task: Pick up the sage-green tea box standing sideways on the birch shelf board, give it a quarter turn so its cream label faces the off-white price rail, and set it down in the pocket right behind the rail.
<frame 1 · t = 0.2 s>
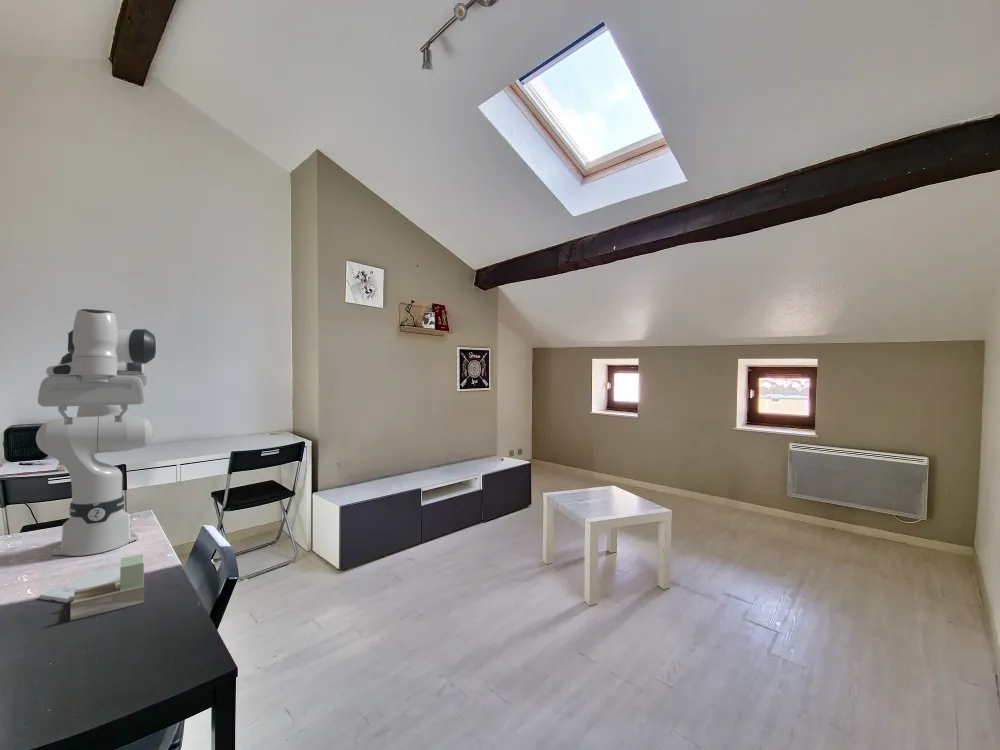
hand: (94, 423, 113), 39 cm above the table, tool pointing down, fingers open, 8 cm apart
tea box: (131, 586, 103), point 2 cm above the table, touching shelf
external hard drive: (83, 591, 106), on the table
shelf: (109, 600, 101), on the table
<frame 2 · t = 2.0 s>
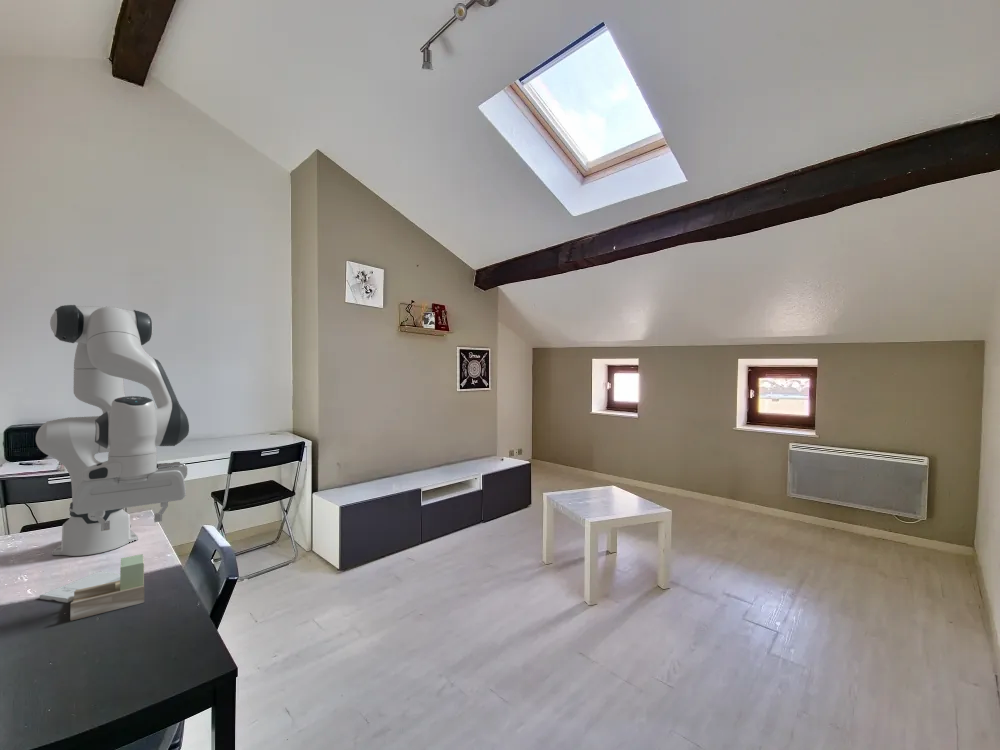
hand: (132, 525, 103), 16 cm above the table, tool pointing down, fingers open, 8 cm apart
nothing on the table moved.
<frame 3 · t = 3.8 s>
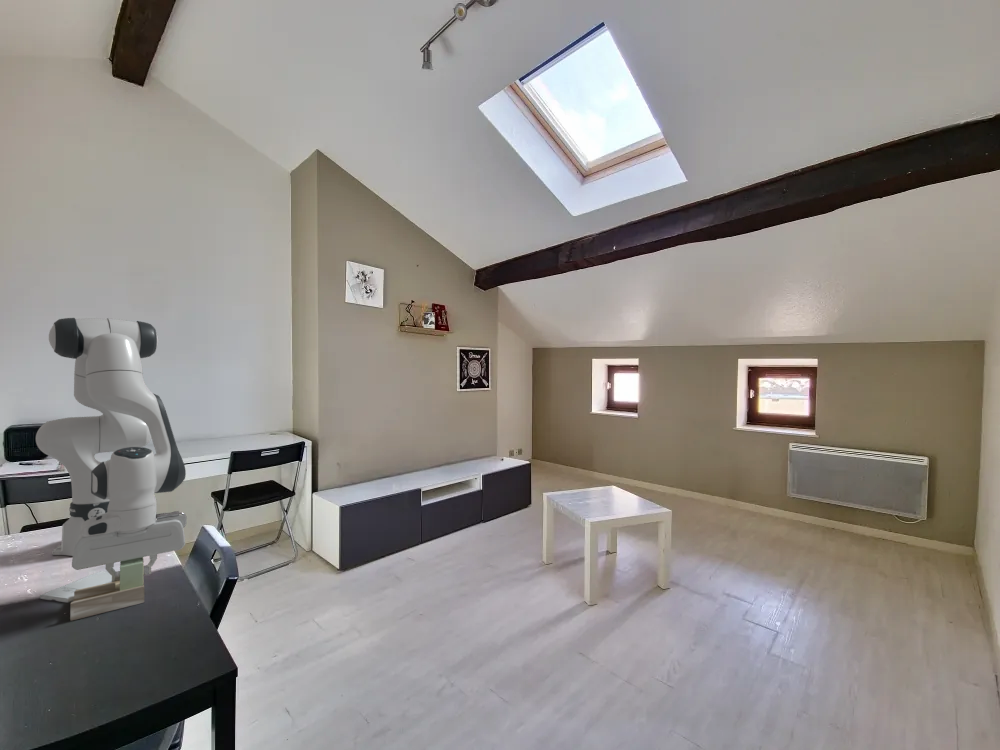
hand: (131, 577, 103), 4 cm above the table, tool pointing down, fingers closed on tea box, 4 cm apart
tea box: (131, 586, 103), point 2 cm above the table, touching gripper, shelf
everything else where it was.
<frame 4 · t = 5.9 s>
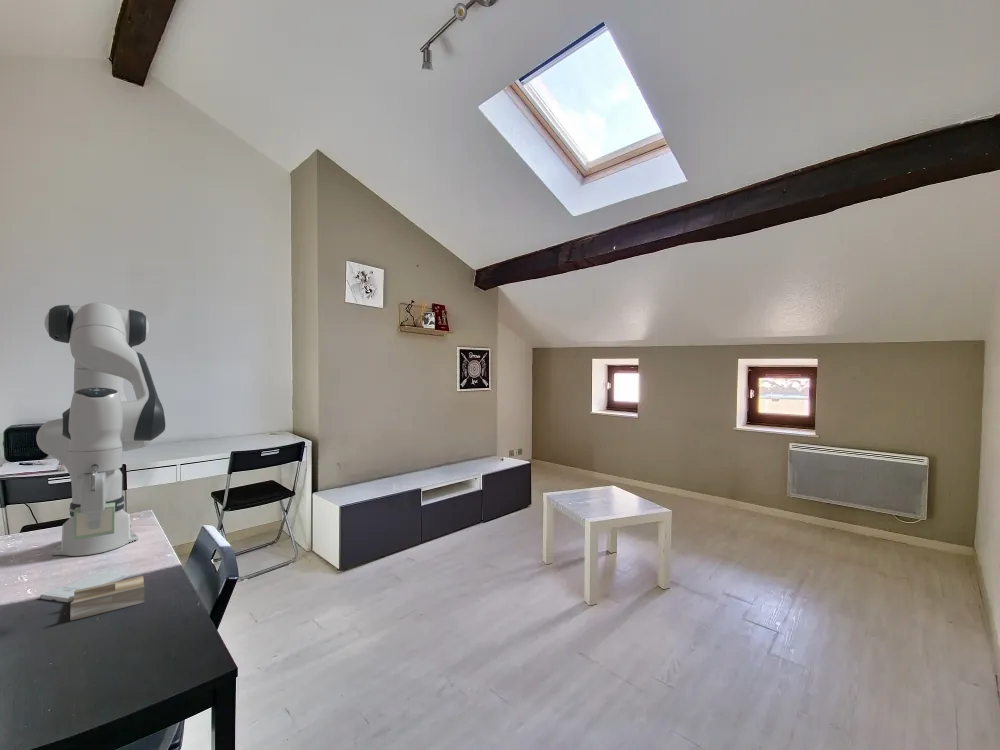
hand: (95, 524, 97), 18 cm above the table, tool pointing down, fingers closed on tea box, 4 cm apart
tea box: (94, 534, 97), point 16 cm above the table, touching gripper
everything else where it was.
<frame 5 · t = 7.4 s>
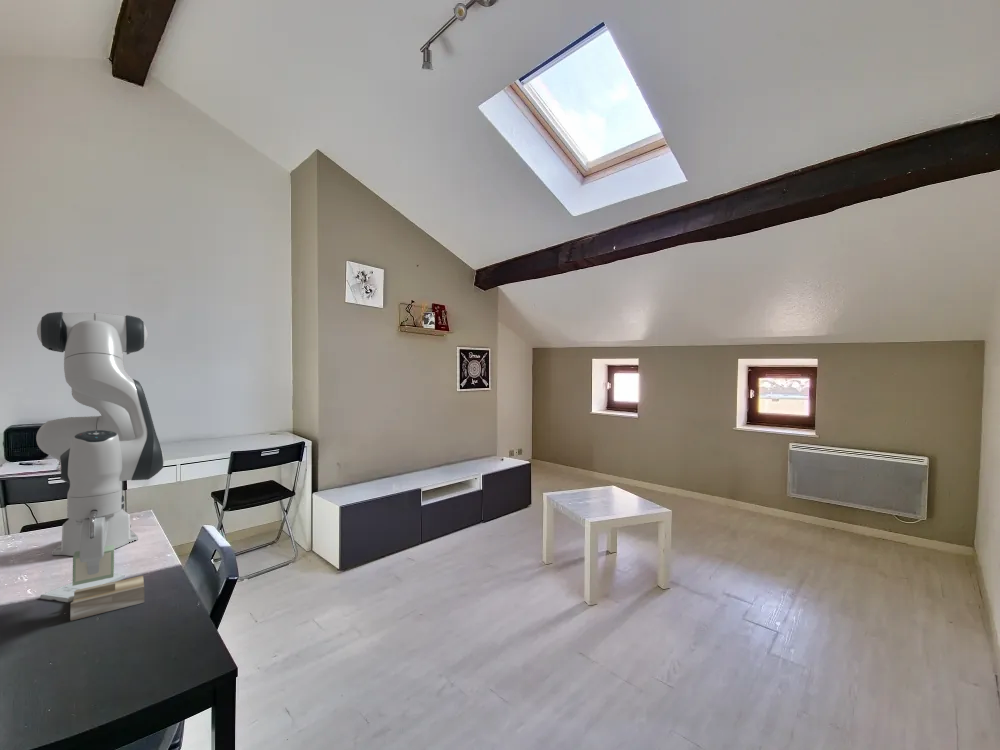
hand: (94, 568, 97), 9 cm above the table, tool pointing down, fingers closed on tea box, 4 cm apart
tea box: (94, 578, 97), point 7 cm above the table, touching gripper
everything else where it was.
when the fingers open (5 cm above the table, at t = 8.5 s): tea box drops 1 cm, resting on shelf.
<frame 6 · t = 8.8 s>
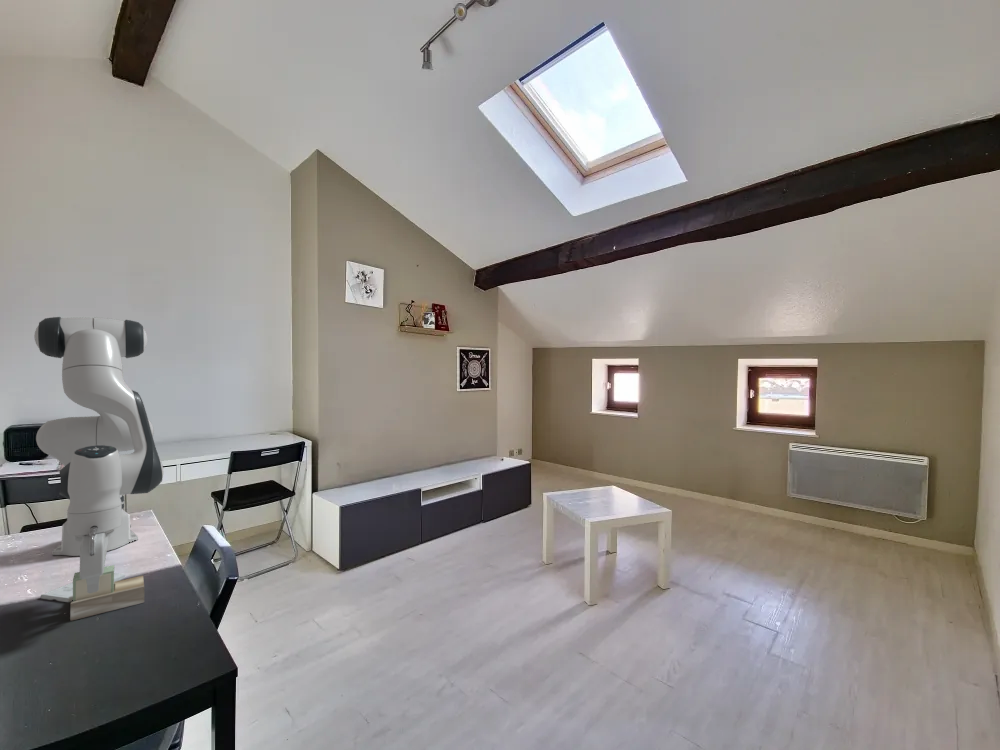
hand: (94, 584, 97), 5 cm above the table, tool pointing down, fingers open, 7 cm apart
tea box: (94, 599, 97), point 2 cm above the table, touching shelf
everything else where it was.
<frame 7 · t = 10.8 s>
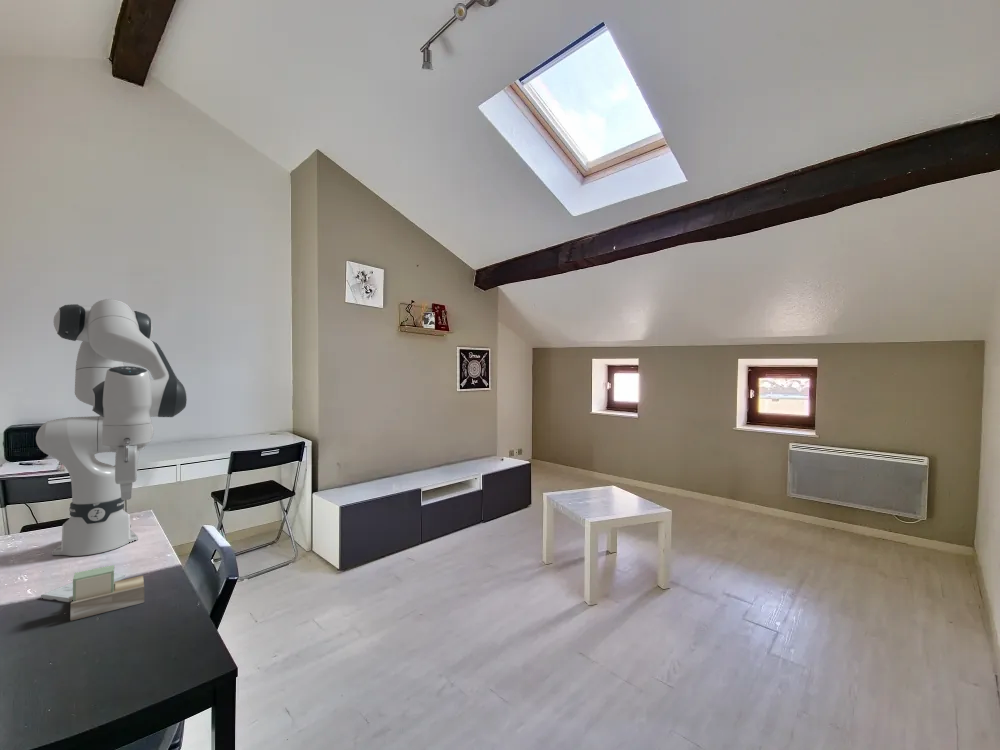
hand: (126, 494, 104), 23 cm above the table, tool pointing down, fingers open, 8 cm apart
nothing on the table moved.
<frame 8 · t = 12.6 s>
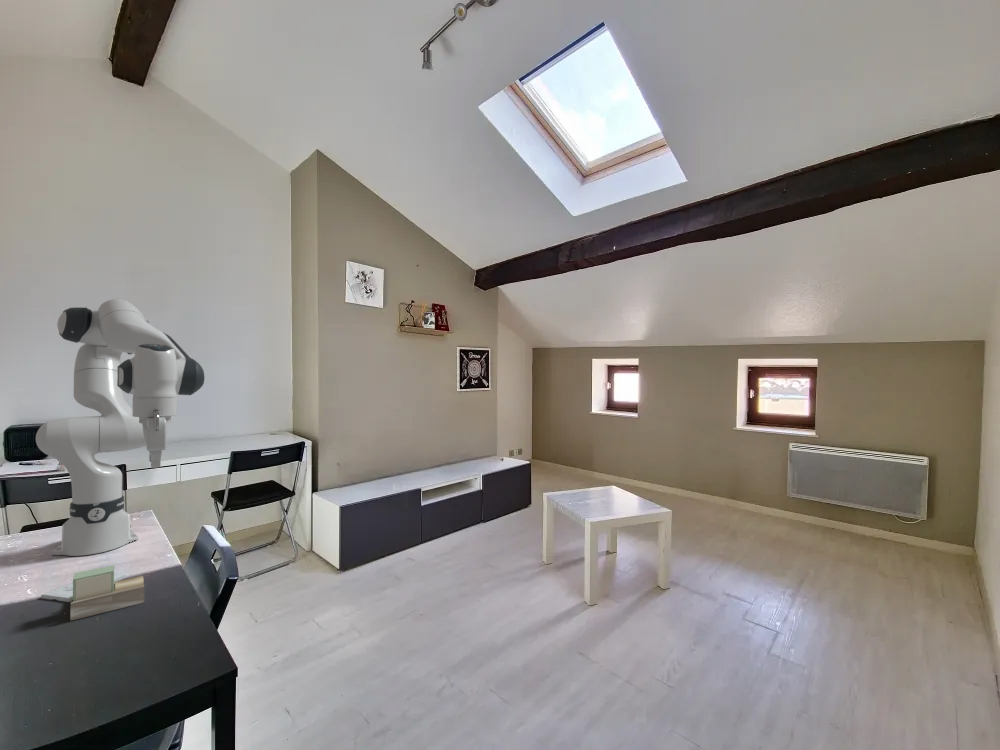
hand: (154, 464, 110), 29 cm above the table, tool pointing down, fingers open, 8 cm apart
nothing on the table moved.
at the end: tea box 0.2 cm from the target spot, point 2.0 cm above the table; tea box tilted 0°; the gripper is holding nothing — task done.
